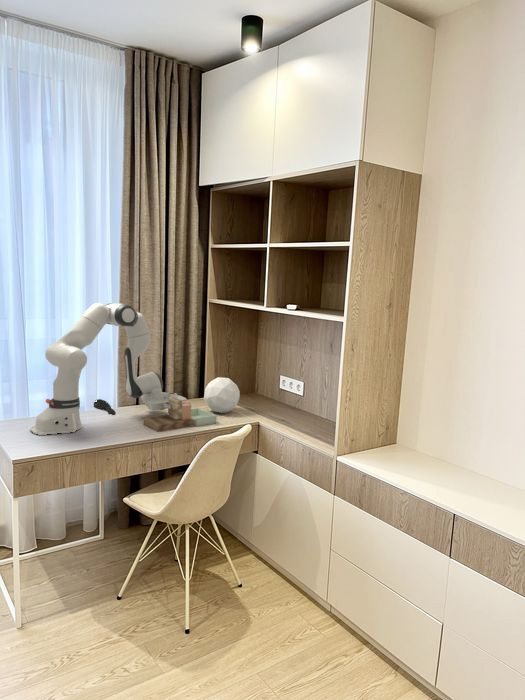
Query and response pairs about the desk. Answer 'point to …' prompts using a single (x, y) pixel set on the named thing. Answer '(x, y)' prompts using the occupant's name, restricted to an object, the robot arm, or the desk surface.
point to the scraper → (175, 408)
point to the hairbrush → (104, 406)
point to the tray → (202, 417)
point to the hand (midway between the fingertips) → (175, 406)
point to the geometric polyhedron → (221, 395)
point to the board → (166, 423)
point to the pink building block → (186, 411)
